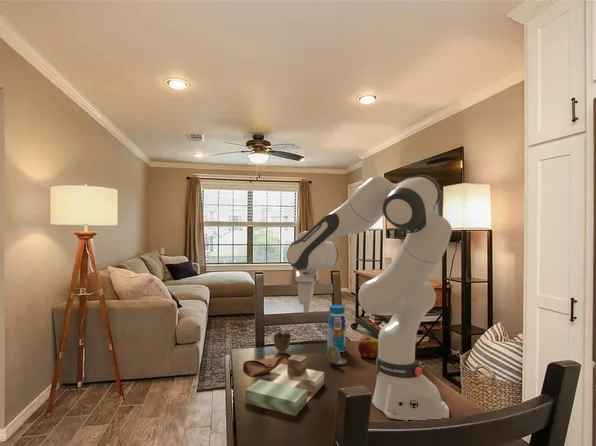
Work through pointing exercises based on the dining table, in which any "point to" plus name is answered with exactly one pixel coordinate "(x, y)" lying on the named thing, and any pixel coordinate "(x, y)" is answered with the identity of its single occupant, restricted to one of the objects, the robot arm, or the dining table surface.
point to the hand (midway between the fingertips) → (306, 311)
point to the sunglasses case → (263, 366)
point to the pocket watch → (335, 355)
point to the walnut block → (296, 365)
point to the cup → (282, 342)
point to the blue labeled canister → (337, 327)
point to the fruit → (368, 347)
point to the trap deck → (285, 390)
